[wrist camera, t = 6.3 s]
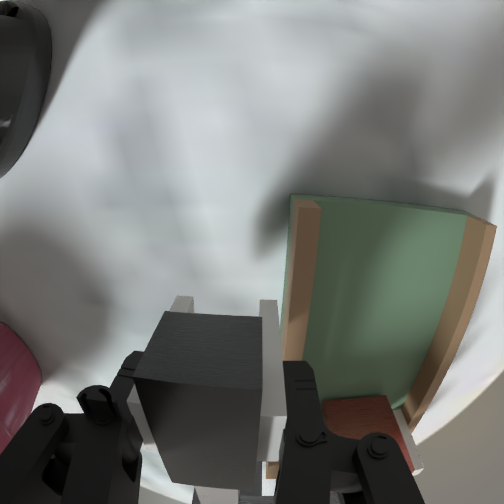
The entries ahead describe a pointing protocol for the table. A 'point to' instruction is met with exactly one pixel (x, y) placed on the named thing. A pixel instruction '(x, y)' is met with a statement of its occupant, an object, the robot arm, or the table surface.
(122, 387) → the robot arm
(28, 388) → the plant pot
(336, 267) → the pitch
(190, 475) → the slider
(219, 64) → the table surface
